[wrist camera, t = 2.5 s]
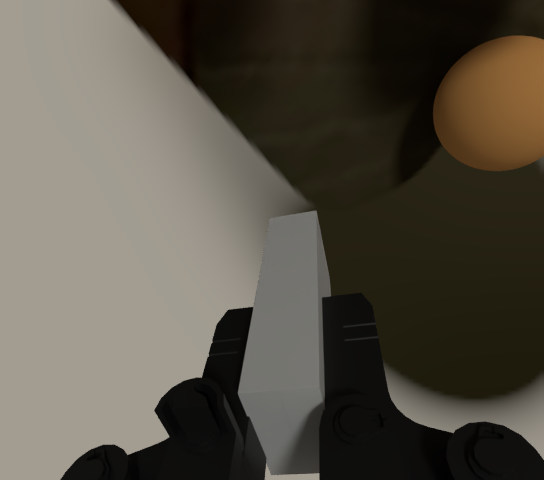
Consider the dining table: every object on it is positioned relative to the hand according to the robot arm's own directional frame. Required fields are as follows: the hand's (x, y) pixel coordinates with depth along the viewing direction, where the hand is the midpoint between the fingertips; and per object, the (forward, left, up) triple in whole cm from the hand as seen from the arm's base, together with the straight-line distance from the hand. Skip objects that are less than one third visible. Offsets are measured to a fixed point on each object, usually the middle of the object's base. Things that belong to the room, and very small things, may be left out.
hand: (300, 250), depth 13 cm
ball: (+4, +8, -9) cm, 13 cm away
